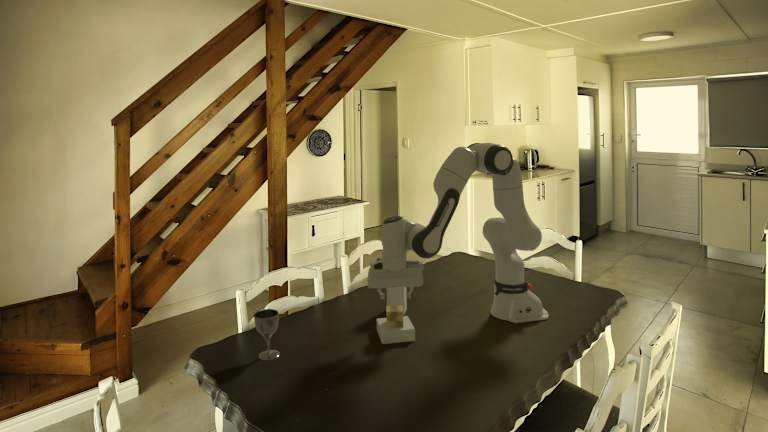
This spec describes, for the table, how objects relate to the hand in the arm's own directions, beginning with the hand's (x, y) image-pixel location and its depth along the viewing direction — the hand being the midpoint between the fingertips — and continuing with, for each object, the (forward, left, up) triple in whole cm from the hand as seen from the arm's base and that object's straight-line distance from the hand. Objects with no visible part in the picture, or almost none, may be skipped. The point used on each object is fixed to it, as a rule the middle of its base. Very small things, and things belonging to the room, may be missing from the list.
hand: (395, 298), depth 170 cm
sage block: (0, 0, -15) cm, 15 cm away
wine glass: (+44, +12, -15) cm, 48 cm away
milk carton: (-2, -22, -15) cm, 26 cm away
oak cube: (0, +1, -10) cm, 10 cm away
